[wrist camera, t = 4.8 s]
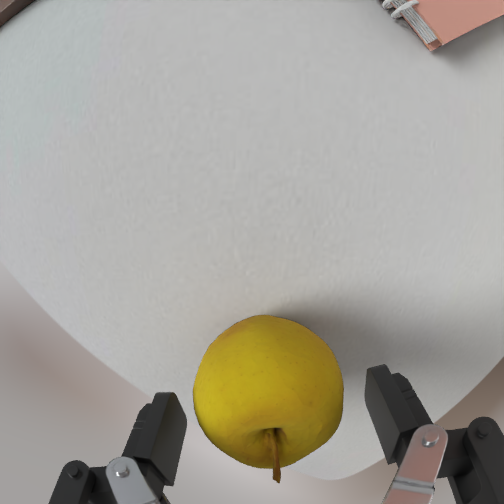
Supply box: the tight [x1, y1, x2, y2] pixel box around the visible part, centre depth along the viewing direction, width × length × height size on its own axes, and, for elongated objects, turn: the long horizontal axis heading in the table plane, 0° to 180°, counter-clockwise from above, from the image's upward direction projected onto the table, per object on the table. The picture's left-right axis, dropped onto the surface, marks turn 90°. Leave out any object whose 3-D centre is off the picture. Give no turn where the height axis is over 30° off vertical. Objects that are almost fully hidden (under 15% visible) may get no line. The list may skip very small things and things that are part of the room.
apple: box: [193, 315, 344, 483], centre depth 11 cm, size 6×6×8 cm
